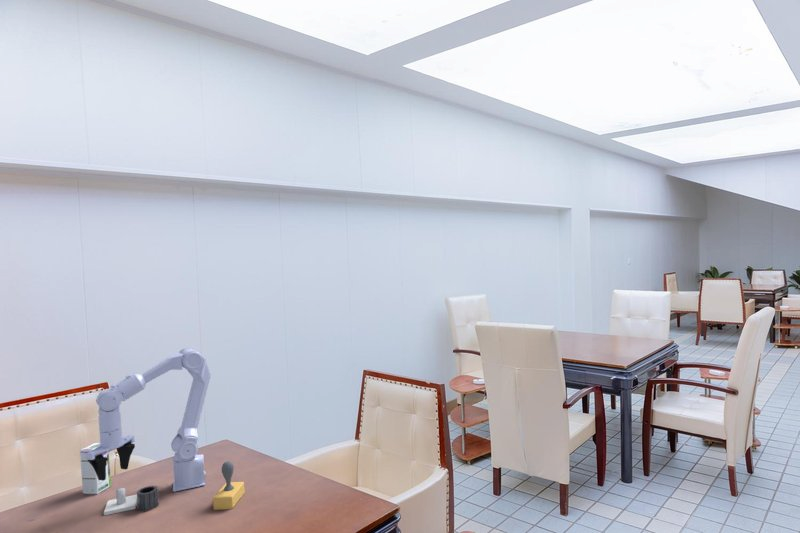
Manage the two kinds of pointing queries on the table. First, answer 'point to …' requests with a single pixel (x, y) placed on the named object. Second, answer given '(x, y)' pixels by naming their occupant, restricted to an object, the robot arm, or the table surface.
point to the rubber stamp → (228, 490)
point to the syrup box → (93, 473)
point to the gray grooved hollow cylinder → (147, 498)
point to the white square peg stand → (120, 502)
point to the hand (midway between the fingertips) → (113, 474)
